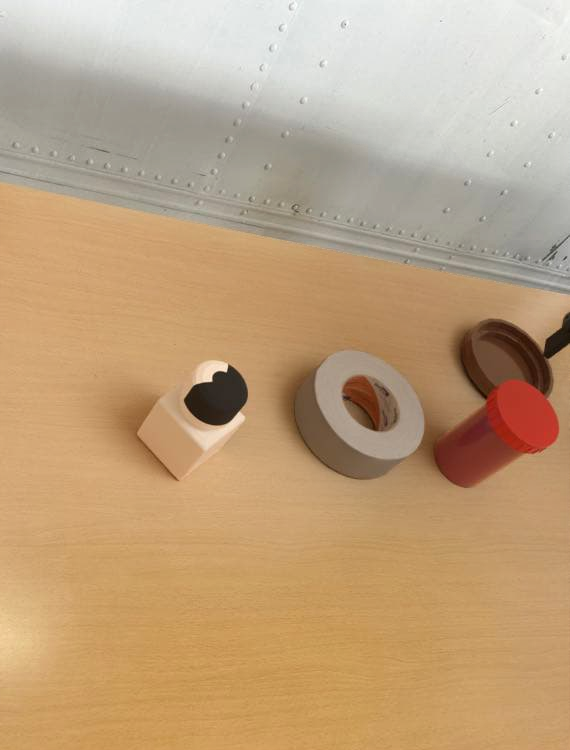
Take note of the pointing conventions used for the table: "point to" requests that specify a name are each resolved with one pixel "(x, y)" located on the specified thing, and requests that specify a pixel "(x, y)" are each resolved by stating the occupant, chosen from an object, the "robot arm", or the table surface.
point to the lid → (522, 417)
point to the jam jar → (473, 451)
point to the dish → (505, 357)
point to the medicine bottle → (196, 417)
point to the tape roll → (341, 431)
